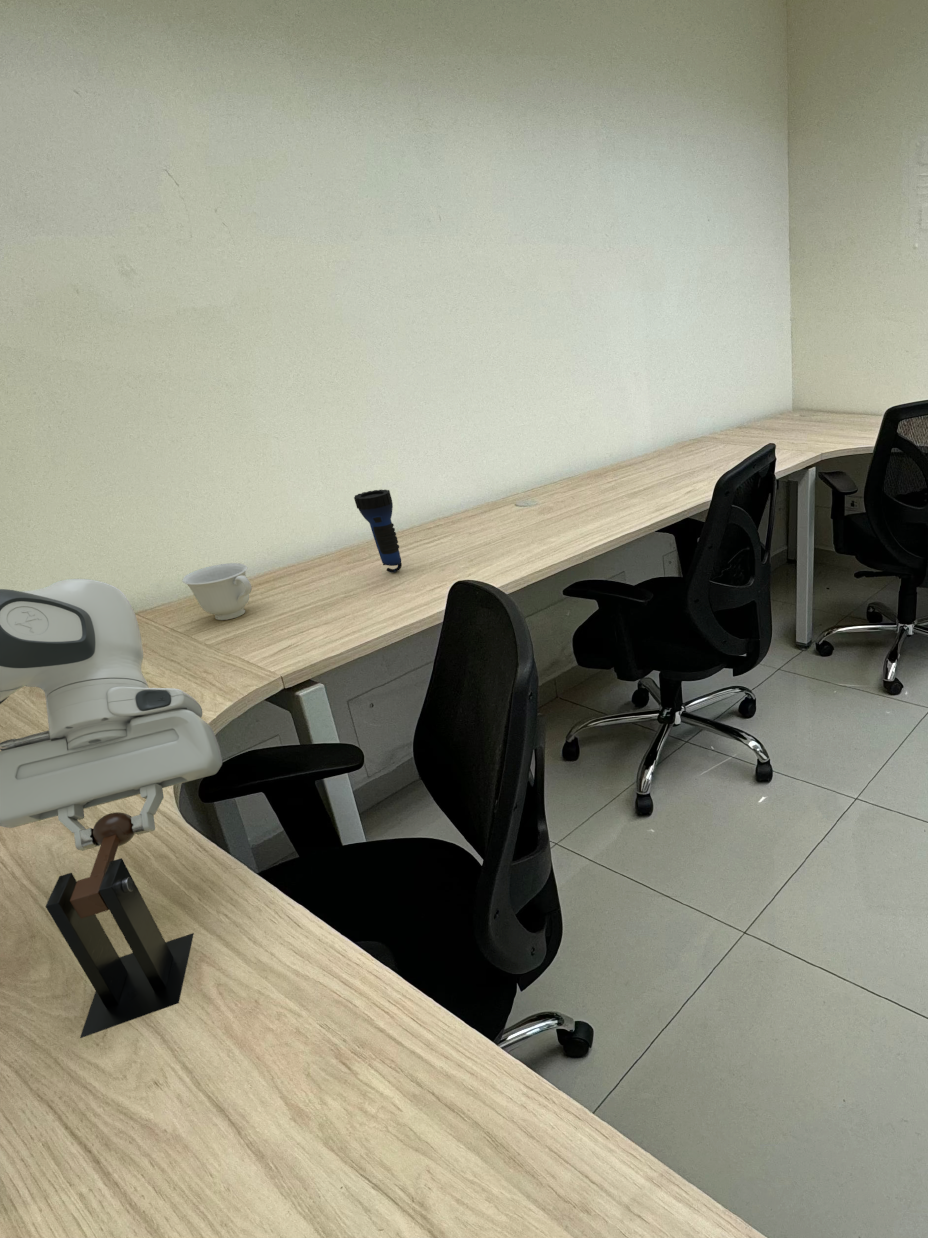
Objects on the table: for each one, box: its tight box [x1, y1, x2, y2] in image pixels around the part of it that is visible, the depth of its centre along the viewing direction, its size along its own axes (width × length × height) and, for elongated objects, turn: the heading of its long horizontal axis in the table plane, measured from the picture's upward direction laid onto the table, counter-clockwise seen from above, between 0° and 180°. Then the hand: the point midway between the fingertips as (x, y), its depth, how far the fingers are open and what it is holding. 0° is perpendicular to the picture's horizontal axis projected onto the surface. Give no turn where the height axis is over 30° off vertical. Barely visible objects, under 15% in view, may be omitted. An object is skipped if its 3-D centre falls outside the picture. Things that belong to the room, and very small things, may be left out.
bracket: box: [45, 857, 195, 1039], centre depth 75 cm, size 10×8×15 cm
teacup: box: [181, 562, 253, 621], centre depth 165 cm, size 12×15×10 cm
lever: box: [70, 811, 136, 918], centre depth 77 cm, size 13×4×4 cm, turn 26°
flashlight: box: [353, 489, 403, 573], centre depth 183 cm, size 8×8×20 cm
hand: (117, 839), depth 80 cm, fingers closed on lever, 3 cm apart
